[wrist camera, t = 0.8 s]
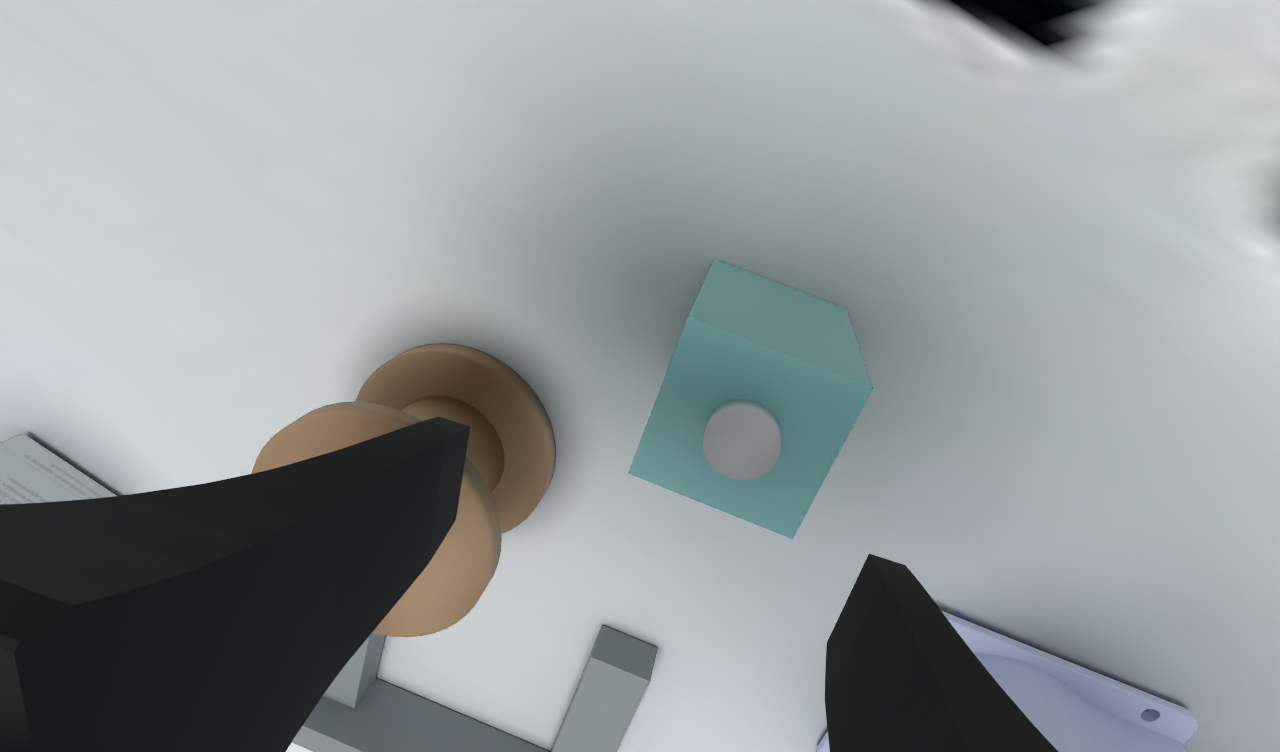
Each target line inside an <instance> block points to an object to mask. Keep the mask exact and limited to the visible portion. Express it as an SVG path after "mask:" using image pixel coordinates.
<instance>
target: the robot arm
mask: <svg viewBox="0 0 1280 752" xmlns="http://www.w3.org/2000/svg"><path fill="white" fill-rule="evenodd" d="M469 432H470V426H467V425H464V424H461V423H458V422H455V421H451V420H448V419H445V418H442V417H435V418H431V419H428V420H424V421H421V422H418V423H415V424H412V425H409V426H406V427H404V428H401V429H398V430H395V431H392V432H389V433H386V434H384V435H381V436H378V437H375V438H372V439H369V440H366V441H363V442H360V443H357V444H354V445H351V446H349V447H346V448H343V449H339V450H336V451H333V452H329V453H326V454H323V455H319V456H316V457H313V458H309V459H306V460H302V461H299V462H296V463H292V464H289V465H285V466H282V467H278V468H274V469H270V470H266V471H262V472H258V473H254V474H249V475H245V476H240V477H235V478H230V479H226V480H221V481H216V482H211V483H205V484H200V485H193V486H186V487H180V488H173V489H166V490H159V491H152V492H146V493H139V494H132V495H124V496H114V497H104V498H94V499H84V500H70V501H57V502H43V503H25V504H0V752H285V751H286V750H287V748H288V747H289V745H290V744H291V742H292V741H293V739H294V738H295V736H296V735H297V733H298V732H299V730H300V729H301V727H302V726H303V724H304V723H305V721H306V720H307V718H308V717H309V715H310V714H311V712H312V711H313V709H314V708H315V707H316V705H317V704H318V702H319V701H320V699H321V698H322V696H323V695H324V693H325V692H326V690H327V689H328V687H329V686H330V685H331V683H332V682H333V681H334V679H335V678H336V677H337V675H338V674H339V673H340V671H341V670H342V669H343V667H344V666H345V665H346V664H347V662H348V661H349V660H350V659H351V657H352V656H353V655H354V654H355V653H356V651H357V650H358V649H359V648H360V647H361V645H362V644H363V643H364V642H365V641H366V639H367V638H368V637H369V636H370V635H371V633H372V632H373V631H374V630H375V629H376V627H377V626H378V625H379V624H380V623H381V621H382V620H383V619H384V618H385V616H386V615H387V614H388V613H389V612H390V610H391V609H392V608H393V607H394V606H395V604H396V603H397V602H398V601H399V600H400V598H401V597H402V596H403V595H404V594H405V592H406V591H407V590H408V589H409V587H410V586H411V585H412V584H413V583H414V581H415V580H416V579H417V578H418V576H419V575H420V574H421V573H422V571H423V570H424V569H425V568H426V566H427V565H428V564H429V562H430V561H431V559H432V558H433V556H434V554H435V553H436V551H437V550H438V548H439V547H440V545H441V544H442V542H443V540H444V539H445V537H446V535H447V534H448V532H449V530H450V529H451V527H452V525H453V524H454V522H455V520H456V516H457V510H458V503H459V497H460V490H461V484H462V477H463V471H464V464H465V458H466V451H467V445H468V438H469ZM825 706H826V717H827V728H828V731H827V733H826V734H825V736H824V737H823V739H822V740H821V742H820V743H819V745H818V746H817V749H816V752H1187V750H1186V748H1185V747H1184V744H1185V743H1186V742H1187V741H1188V740H1189V739H1190V738H1191V737H1192V736H1193V735H1194V734H1195V733H1196V732H1197V730H1198V728H1199V723H1198V722H1197V720H1196V719H1195V717H1194V716H1193V714H1192V713H1191V711H1189V710H1187V709H1186V708H1184V707H1181V706H1179V705H1176V704H1173V703H1171V702H1168V701H1166V700H1163V699H1161V698H1158V697H1156V696H1153V695H1151V694H1148V693H1146V692H1143V691H1141V690H1138V689H1136V688H1133V687H1131V686H1128V685H1126V684H1123V683H1121V682H1118V681H1116V680H1113V679H1111V678H1108V677H1106V676H1103V675H1101V674H1098V673H1096V672H1093V671H1091V670H1088V669H1086V668H1083V667H1081V666H1078V665H1076V664H1073V663H1071V662H1068V661H1066V660H1063V659H1061V658H1058V657H1056V656H1053V655H1051V654H1048V653H1046V652H1043V651H1041V650H1038V649H1036V648H1033V647H1031V646H1028V645H1026V644H1023V643H1021V642H1018V641H1016V640H1013V639H1011V638H1008V637H1006V636H1003V635H1001V634H998V633H996V632H993V631H991V630H988V629H986V628H983V627H981V626H978V625H976V624H973V623H971V622H968V621H966V620H963V619H961V618H958V617H956V616H953V615H951V614H948V613H946V612H943V611H941V610H940V609H939V607H938V606H937V605H936V603H935V602H934V601H933V599H932V598H931V597H930V595H929V594H928V593H927V592H926V590H925V589H924V588H923V586H922V585H921V584H920V582H919V581H918V580H917V579H916V577H915V576H914V575H913V574H912V573H911V571H910V570H909V569H908V568H907V567H906V566H905V565H903V564H900V563H896V562H893V561H890V560H887V559H884V558H881V557H878V556H875V555H871V554H869V555H868V557H867V559H866V562H865V564H864V566H863V568H862V570H861V572H860V574H859V576H858V578H857V581H856V583H855V585H854V587H853V589H852V591H851V593H850V595H849V597H848V600H847V602H846V604H845V606H844V608H843V610H842V612H841V614H840V616H839V619H838V621H837V623H836V625H835V627H834V629H833V631H832V633H831V635H830V638H829V640H828V642H827V653H826V674H825ZM1147 709H1150V710H1149V711H1145V710H1147Z"/></svg>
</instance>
